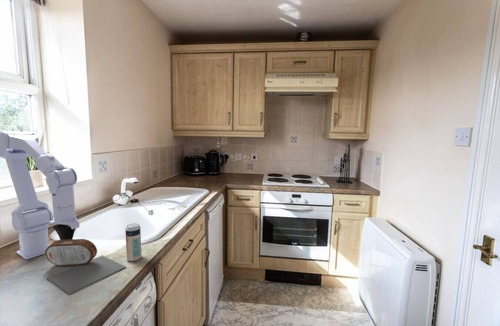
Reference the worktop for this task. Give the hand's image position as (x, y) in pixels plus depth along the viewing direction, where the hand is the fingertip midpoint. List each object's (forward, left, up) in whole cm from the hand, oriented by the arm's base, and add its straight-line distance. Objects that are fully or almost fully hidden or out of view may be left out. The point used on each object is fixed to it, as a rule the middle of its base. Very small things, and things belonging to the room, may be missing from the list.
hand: (67, 245), depth 81 cm
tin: (+4, 0, -6) cm, 7 cm away
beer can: (+17, +13, -6) cm, 22 cm away
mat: (+13, 0, -6) cm, 14 cm away
